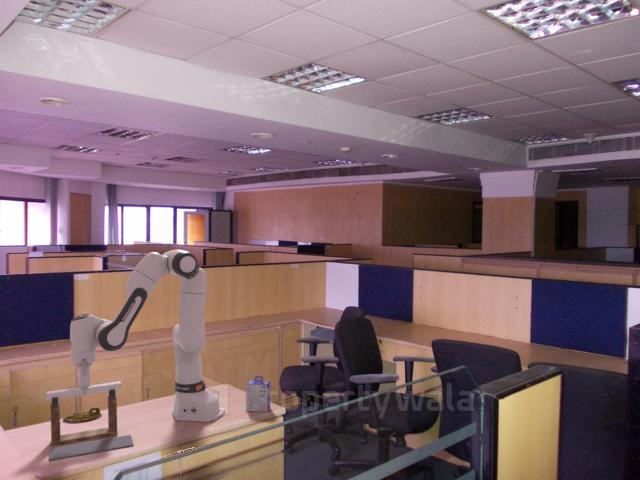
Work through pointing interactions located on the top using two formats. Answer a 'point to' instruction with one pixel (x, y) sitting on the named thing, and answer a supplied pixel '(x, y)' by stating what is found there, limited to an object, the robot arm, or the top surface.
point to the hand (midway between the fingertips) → (84, 392)
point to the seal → (83, 416)
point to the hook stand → (85, 435)
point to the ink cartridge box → (258, 395)
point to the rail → (78, 391)
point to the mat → (90, 447)
